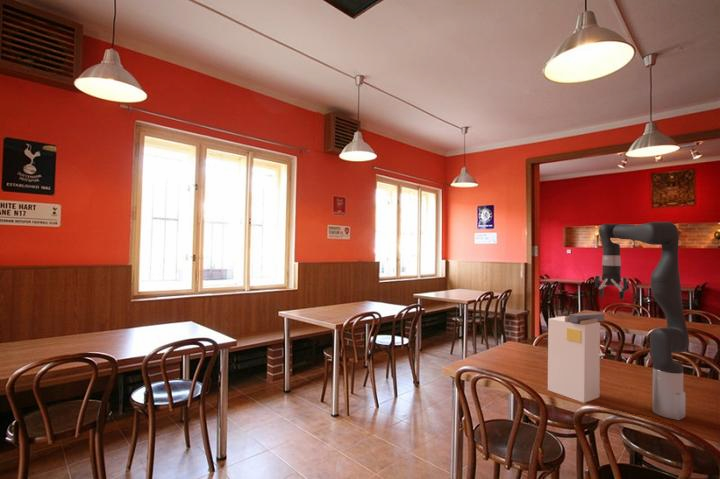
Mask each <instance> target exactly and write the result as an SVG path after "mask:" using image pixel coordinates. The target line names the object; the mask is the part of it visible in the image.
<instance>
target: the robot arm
mask: <svg viewBox="0 0 720 479" xmlns="http://www.w3.org/2000/svg"><path fill="white" fill-rule="evenodd" d="M598 235H599V238H600V242H601V245H602V262H601V264H602V266H601V272H602V273H601V274H602V276H601V275H596V276H595V278H594V280H595V281H594V288H595V289H597V290H598V295H599V297H600V298H604V297H605V290H604V289H605V288H606V287H608V286H612V287H615V288H617V289H618V290H619V292H618V293H619V294H618V298H619V300H624V298H625V292H626V291H629V290H630V284H629V283H630V282H629V281H630V280H629V277H622V276H621V275H622V272H621V271H622V259H621V245H620V244H619V243H616V242H613V241H612V240H611V239H620V240H627V241H629V240H633V241H634V240H635V241H637V242H640V243H643V244H647V245H653V246H655V245H656V246H657V245H659V246H660V245H661V257H660V258H659V259H660V260H659V261H658V263H657V265H656V266H655V268H654V269H653V270H652V273H651V275H650V290H651V295H652V297H653V299H654V300H655V301H656V303H657V305H658V306H659V307H660V308H661V310H662V311H663V313H664V315H665V320H666V326H667V327H657V328H653V329H652V330H651V331H650V334H649V352H650V359H651V360H650V361H651V362H652V406H651V407H652V412H653V413H654V414H655V415H658V416H660V417H663V418H668V419H673V420H676V421H680V420H682V419H684V418H686V391H684V366H683V364H682V363H681V362H678V361H676V360H673V355H672V353H676V354H677V353H685V352H687V351H688V349H689V346H690V338H689V337H690V336H689V332H688V328H687V323H686V319H685V313H684V307H683V306H684V305H683V298H682V284H681V283H682V282H681V277H680V268H679V229H678V227H677V225H676V224H675V223H673V222H671V221H651V222H650V221H649V222H647V223H646V222H645V223H641V224H637V225H636V224H632V223H603V224H601V225H600V226H599V228H598ZM601 281H602V283H601ZM621 282H622V283H623V284H622V283H621Z"/></svg>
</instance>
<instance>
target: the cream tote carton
mask: <svg viewBox="0 0 720 479" xmlns="http://www.w3.org/2000/svg"><path fill="white" fill-rule="evenodd" d="M547 324H548V326H547V327H548V328H547V331H548V332H547V335H548V336H547V391H550V392H552V393H556V394H558V395H561V396H564V397H567V398H568V399H569V398H570V399H573V400H575V401H578V402H580V403H583V404H585V403H587V402H590V401H593V400H595V399H598V398H600V385H601V384H600V383H601V382H600V378H601V377H600V376H601V375H600V373H601V371H600V366H601V362H600V361H601V359H600V358H601V357H600V353H601V322H600V321H598V319H590V320H584V321H580V323H575V322H570V321H569V315H568V316H565V315H562V316H556V317H549V318H548V323H547Z"/></svg>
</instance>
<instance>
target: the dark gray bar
mask: <svg viewBox="0 0 720 479" xmlns="http://www.w3.org/2000/svg"><path fill="white" fill-rule="evenodd" d="M568 316H569V321H570V322H575V323H580V321H584V320H590V319H598V322H602V321H603V322H604V321H605V313H600V312H586V313H585V312H584V313H571V314H570V313H569V314H568Z"/></svg>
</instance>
